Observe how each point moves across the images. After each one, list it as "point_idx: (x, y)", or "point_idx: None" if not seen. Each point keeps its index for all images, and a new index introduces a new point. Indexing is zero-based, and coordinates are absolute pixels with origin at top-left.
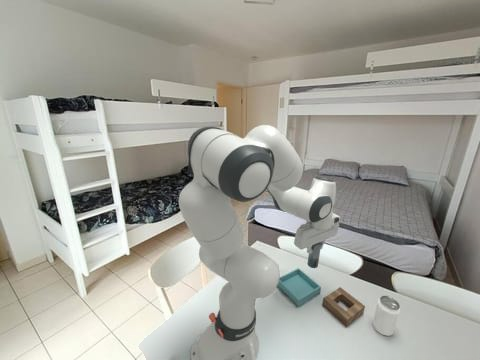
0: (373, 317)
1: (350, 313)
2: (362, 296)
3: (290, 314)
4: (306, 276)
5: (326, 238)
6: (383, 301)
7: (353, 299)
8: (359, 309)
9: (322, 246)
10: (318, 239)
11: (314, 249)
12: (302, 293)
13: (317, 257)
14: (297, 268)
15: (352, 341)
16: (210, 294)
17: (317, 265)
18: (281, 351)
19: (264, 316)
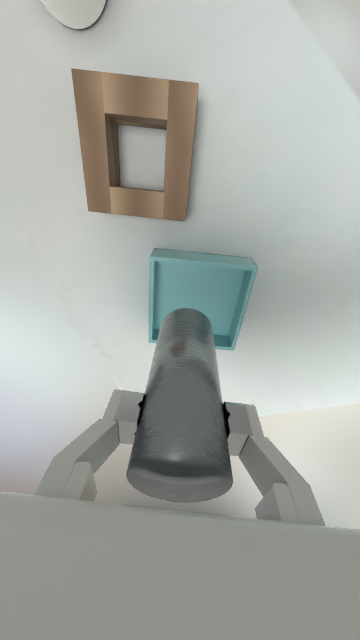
0: (79, 7)
1: (162, 95)
2: (26, 142)
3: (283, 256)
4: (153, 310)
5: (39, 526)
6: None
7: (89, 133)
8: (110, 77)
9: (110, 410)
10: (225, 615)
11: (224, 430)
12: (202, 280)
13: (194, 353)
14: (153, 342)
15: (231, 40)
16: (355, 392)
17: (183, 314)
18: None
19: (334, 293)
